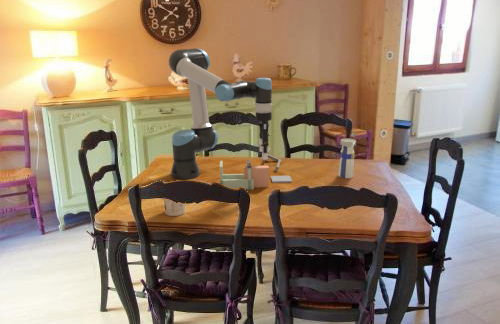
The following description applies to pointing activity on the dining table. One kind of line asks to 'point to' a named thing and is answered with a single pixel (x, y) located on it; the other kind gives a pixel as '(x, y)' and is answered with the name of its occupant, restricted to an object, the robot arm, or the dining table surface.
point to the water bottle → (347, 157)
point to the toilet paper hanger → (273, 159)
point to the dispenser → (237, 178)
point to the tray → (281, 179)
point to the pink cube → (258, 175)
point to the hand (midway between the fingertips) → (263, 155)
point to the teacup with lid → (174, 208)
